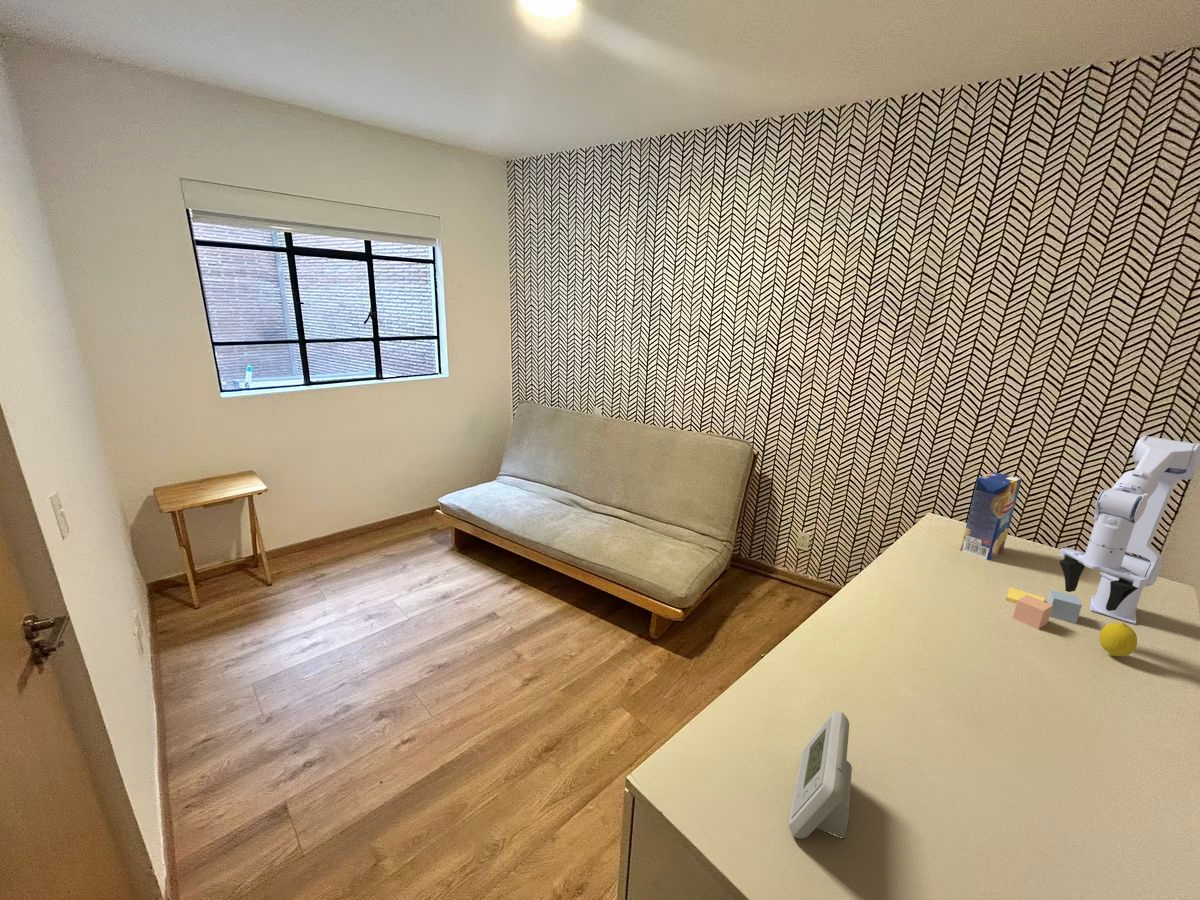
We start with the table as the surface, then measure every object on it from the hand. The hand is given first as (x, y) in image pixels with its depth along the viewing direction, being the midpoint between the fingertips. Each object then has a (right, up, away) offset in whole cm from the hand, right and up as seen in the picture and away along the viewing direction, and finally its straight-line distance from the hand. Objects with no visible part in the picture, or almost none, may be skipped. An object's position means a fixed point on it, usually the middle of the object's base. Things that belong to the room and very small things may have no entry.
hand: (1089, 599), depth 110 cm
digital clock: (-77, -18, -37) cm, 88 cm away
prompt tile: (+1, -5, +17) cm, 18 cm away
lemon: (+2, -11, -3) cm, 12 cm away
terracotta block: (-6, -8, +9) cm, 13 cm away
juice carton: (+11, +2, +45) cm, 46 cm away
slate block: (+4, -7, +11) cm, 14 cm away
